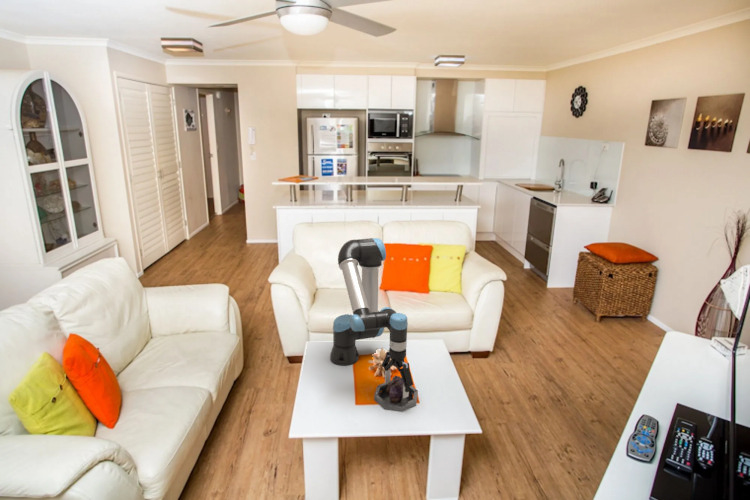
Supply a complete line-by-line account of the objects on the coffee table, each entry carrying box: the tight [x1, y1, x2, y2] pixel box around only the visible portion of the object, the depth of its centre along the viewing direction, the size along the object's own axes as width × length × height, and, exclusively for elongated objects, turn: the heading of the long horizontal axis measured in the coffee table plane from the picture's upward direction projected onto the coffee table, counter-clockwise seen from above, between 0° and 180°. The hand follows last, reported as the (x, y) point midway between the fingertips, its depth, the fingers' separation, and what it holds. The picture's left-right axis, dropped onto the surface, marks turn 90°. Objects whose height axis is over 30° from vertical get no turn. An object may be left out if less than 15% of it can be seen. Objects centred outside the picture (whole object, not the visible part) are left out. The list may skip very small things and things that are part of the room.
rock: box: [386, 375, 404, 403], centre depth 201 cm, size 12×9×10 cm
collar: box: [373, 380, 419, 412], centre depth 203 cm, size 19×19×2 cm
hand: (396, 389), depth 202 cm, fingers open, 13 cm apart
